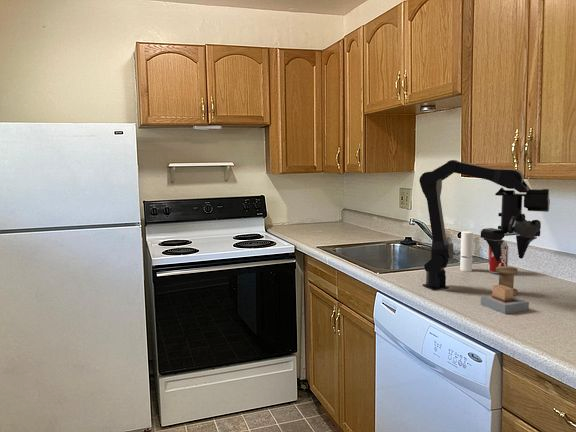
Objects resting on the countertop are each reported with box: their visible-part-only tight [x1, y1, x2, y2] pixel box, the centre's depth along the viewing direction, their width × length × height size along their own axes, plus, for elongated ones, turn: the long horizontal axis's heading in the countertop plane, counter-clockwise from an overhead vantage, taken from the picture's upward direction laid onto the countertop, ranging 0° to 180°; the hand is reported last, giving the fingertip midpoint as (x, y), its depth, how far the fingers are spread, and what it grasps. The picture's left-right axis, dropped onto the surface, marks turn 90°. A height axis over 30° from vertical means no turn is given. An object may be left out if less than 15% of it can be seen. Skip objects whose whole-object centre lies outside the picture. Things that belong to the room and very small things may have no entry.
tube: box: [459, 230, 474, 272], centre depth 190 cm, size 4×4×15 cm
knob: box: [496, 266, 519, 296], centre depth 160 cm, size 7×7×8 cm
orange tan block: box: [491, 284, 514, 303], centre depth 145 cm, size 5×3×6 cm, turn 19°
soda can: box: [487, 240, 509, 275], centre depth 186 cm, size 7×7×12 cm
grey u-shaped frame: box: [480, 295, 530, 315], centre depth 145 cm, size 10×9×2 cm
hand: (509, 259), depth 154 cm, fingers open, 9 cm apart
